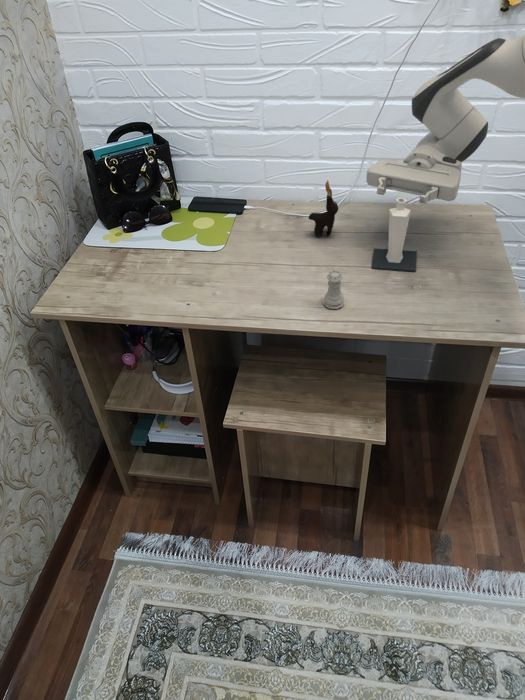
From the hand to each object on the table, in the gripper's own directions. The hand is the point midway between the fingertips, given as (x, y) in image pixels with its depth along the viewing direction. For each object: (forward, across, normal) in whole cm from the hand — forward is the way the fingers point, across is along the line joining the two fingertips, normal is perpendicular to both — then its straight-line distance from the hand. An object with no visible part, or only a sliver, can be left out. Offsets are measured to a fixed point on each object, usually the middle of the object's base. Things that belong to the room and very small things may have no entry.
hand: (401, 195), depth 121 cm
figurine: (-5, -20, +17) cm, 27 cm away
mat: (-1, 0, +17) cm, 17 cm away
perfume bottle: (-1, 0, +17) cm, 17 cm away
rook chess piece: (+20, -6, +17) cm, 27 cm away
